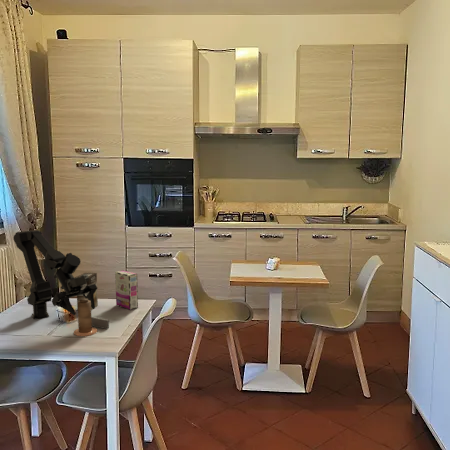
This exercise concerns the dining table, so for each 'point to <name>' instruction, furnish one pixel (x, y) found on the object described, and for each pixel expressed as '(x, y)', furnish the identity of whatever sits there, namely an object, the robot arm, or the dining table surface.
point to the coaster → (85, 333)
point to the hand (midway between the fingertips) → (84, 311)
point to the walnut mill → (84, 315)
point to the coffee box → (91, 281)
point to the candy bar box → (126, 289)
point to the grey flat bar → (100, 322)
